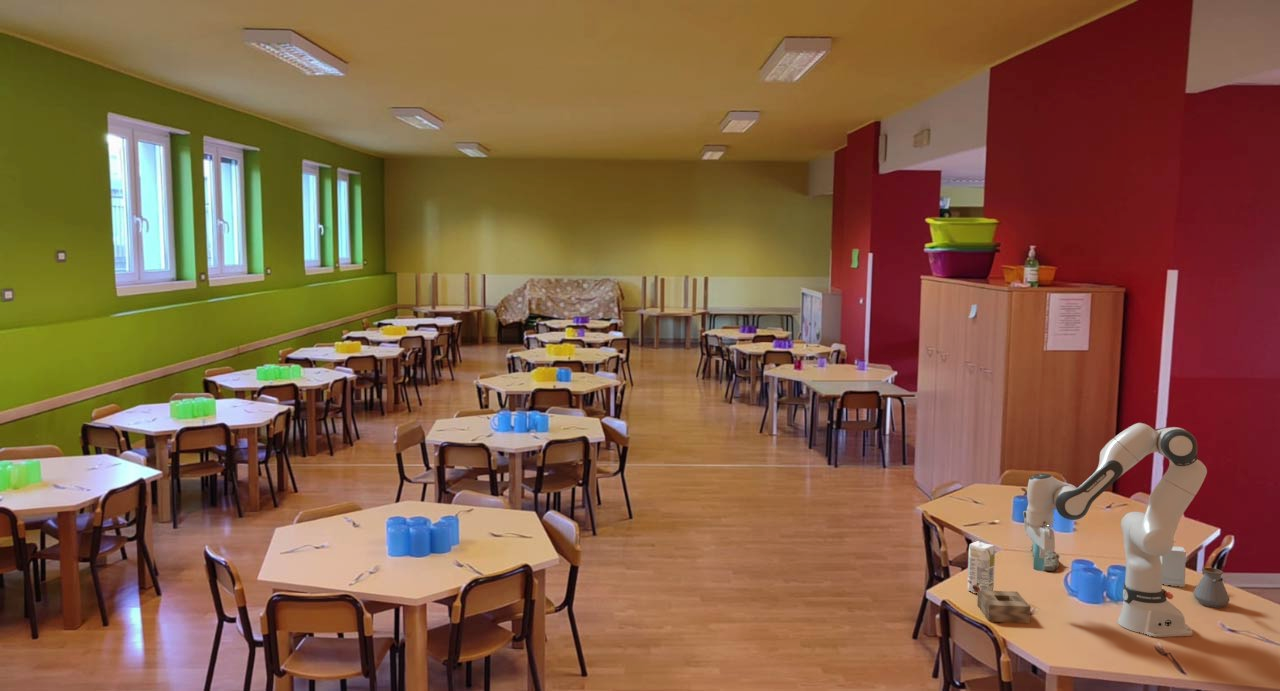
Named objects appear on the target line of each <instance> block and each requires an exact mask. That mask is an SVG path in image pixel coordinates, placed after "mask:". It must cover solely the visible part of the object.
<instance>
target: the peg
mask: <svg viewBox="0 0 1280 691" xmlns="http://www.w3.org/2000/svg"><path fill="white" fill-rule="evenodd" d="M1039 552H1040V548H1039V546H1038V545H1037V544H1036V543H1035V537H1034V557H1033V558H1034V559H1033V563H1032V564H1033V565H1032V566H1033V570H1034V571H1038V572H1043V571H1045V570H1044V558H1040V557H1039Z"/></svg>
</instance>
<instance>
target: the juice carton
mask: <svg viewBox="0 0 1280 691" xmlns="http://www.w3.org/2000/svg"><path fill="white" fill-rule="evenodd" d="M995 547H996V546H995V545H994V544H990V543H985V542H981V541H979V540H977V541H974V542H972V543H971V542H970V543H969V546H968V554H967V555H968V557H967V591H968V592H969V591H971V592H970V593H972V592H974V593H973V594H976V593H977V594H976V595H978V590H986V591H994V588H995V566H996V565H995V564H996V563H995V562H996V548H995Z"/></svg>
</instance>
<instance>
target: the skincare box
mask: <svg viewBox="0 0 1280 691" xmlns="http://www.w3.org/2000/svg"><path fill="white" fill-rule="evenodd" d="M1186 557H1187V551H1186V549H1185V548H1184V547H1183V546H1174V545H1173V548H1172V550H1171V551H1170V552H1169V553H1168V554H1166V555H1164V556H1160V560H1161V564H1162V567H1163V574H1162V584H1164V585H1163V586H1168V585H1171V586H1170V587H1177V586H1179V587H1178V588H1186V562H1187V561H1186Z"/></svg>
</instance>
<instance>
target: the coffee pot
mask: <svg viewBox="0 0 1280 691" xmlns="http://www.w3.org/2000/svg"><path fill="white" fill-rule="evenodd" d="M1201 571H1202V573H1203V576H1202V577H1201V579H1200V580H1199V582H1198V583H1197V585H1196V587H1195V588H1194V590H1193V591H1192V596H1193V598H1194V599H1195V600H1196V601H1198V603H1199V604H1201V605H1202V606H1206V607H1209V608H1216V609H1217V608H1223V607H1224V606H1227V604H1229V602H1230V600H1231V599H1230V596H1229V594H1228V591H1227V589H1226V587H1225V583H1224V582H1223V581H1225V578H1222V575H1223V574H1224V572H1223V570H1221V569H1218V568H1216V567H1202V568H1201Z"/></svg>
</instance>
